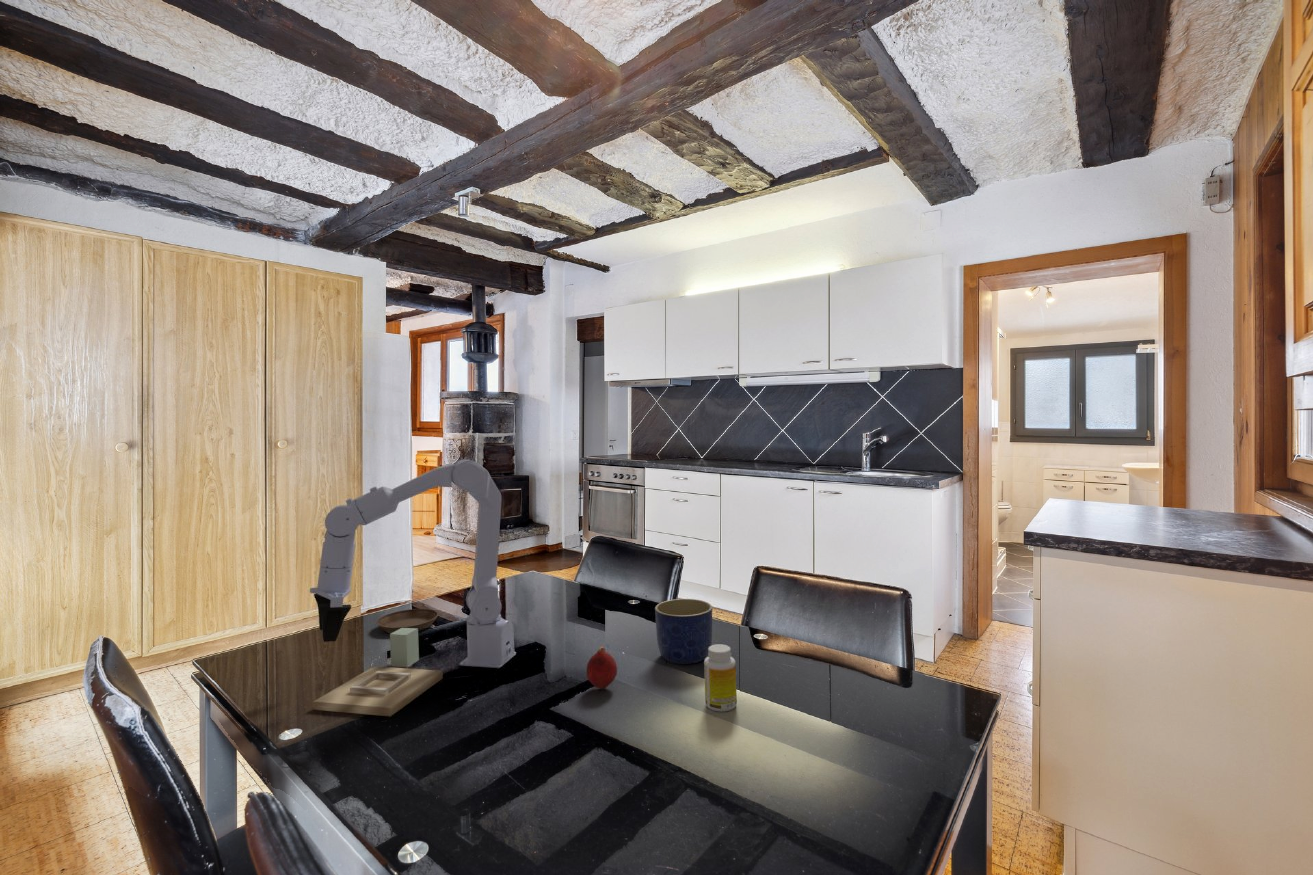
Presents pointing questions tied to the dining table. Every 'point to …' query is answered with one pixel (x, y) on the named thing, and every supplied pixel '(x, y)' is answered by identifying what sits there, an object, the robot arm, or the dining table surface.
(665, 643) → the planter
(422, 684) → the display plinth
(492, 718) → the dining table surface
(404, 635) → the sage block
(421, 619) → the saucer
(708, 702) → the supplement bottle
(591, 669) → the onion
